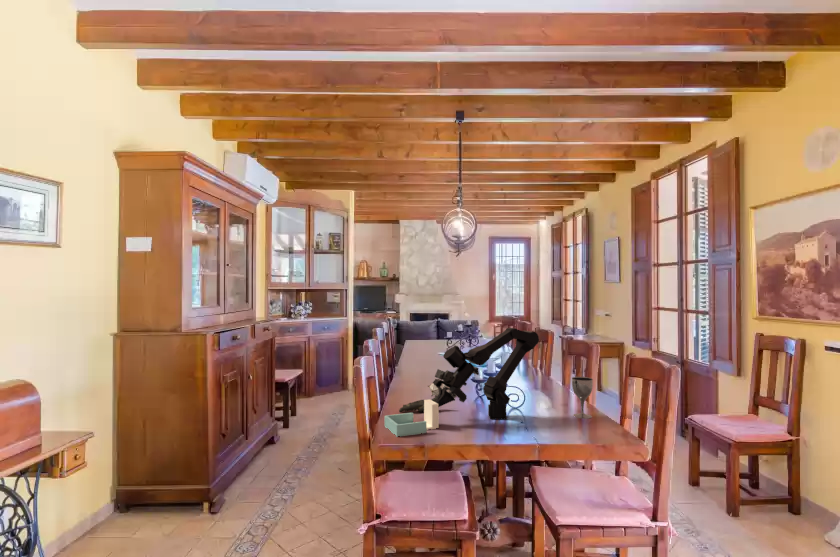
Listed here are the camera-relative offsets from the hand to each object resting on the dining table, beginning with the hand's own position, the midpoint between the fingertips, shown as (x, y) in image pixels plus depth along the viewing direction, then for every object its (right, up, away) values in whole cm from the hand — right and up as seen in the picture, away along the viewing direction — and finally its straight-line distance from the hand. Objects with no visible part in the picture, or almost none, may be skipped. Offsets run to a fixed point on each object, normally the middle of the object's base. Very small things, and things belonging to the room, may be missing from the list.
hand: (434, 407), depth 179 cm
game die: (+3, -8, +46) cm, 47 cm away
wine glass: (+60, -7, +12) cm, 61 cm away
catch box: (-10, -7, -5) cm, 13 cm away
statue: (-5, -7, +20) cm, 22 cm away
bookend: (-5, -7, -2) cm, 9 cm away
